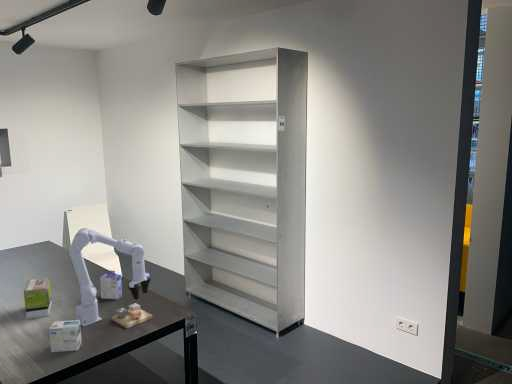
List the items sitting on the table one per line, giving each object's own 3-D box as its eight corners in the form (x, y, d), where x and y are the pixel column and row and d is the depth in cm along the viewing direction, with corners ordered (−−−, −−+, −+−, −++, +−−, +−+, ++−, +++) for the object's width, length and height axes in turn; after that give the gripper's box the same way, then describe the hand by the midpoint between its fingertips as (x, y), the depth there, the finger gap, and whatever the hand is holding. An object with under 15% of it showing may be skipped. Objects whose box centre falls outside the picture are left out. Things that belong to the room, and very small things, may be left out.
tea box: (30, 306, 215) (28, 279, 213) (52, 304, 219) (50, 276, 216) (25, 319, 201) (23, 290, 199) (49, 316, 205) (46, 287, 202)
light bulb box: (82, 342, 180) (80, 319, 179) (78, 351, 174) (76, 326, 172) (55, 344, 179) (53, 320, 177) (50, 353, 172) (48, 328, 170)
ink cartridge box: (122, 295, 230) (121, 270, 227) (118, 299, 224) (116, 273, 222) (105, 294, 231) (104, 269, 229) (100, 298, 226) (99, 272, 223)
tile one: (134, 318, 197) (134, 313, 197) (129, 316, 200) (129, 311, 200) (141, 316, 200) (141, 311, 200) (136, 313, 203) (136, 308, 203)
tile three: (120, 317, 199) (120, 312, 198) (115, 315, 201) (115, 310, 201) (128, 314, 202) (127, 309, 201) (123, 312, 204) (123, 307, 204)
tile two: (133, 312, 204) (133, 307, 204) (128, 310, 206) (128, 305, 206) (140, 310, 207) (140, 305, 206) (135, 307, 209) (135, 302, 209)
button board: (126, 328, 193) (126, 325, 193) (111, 319, 201) (111, 316, 201) (152, 318, 204) (152, 315, 203) (136, 310, 212) (136, 307, 212)
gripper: (137, 275, 195) (139, 303, 198) (153, 265, 209) (155, 291, 211) (124, 274, 197) (126, 301, 200) (141, 264, 211) (143, 289, 213)
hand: (140, 296), depth 206 cm, fingers open, 7 cm apart
